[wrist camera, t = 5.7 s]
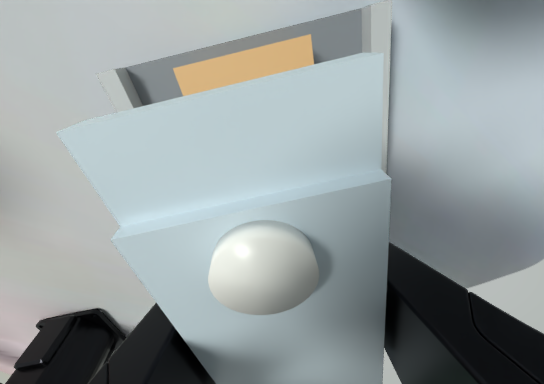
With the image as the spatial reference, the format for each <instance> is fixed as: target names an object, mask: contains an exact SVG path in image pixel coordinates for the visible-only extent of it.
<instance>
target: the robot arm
mask: <svg viewBox="0 0 544 384" xmlns="http://www.w3.org/2000/svg"><path fill="white" fill-rule="evenodd" d="M36 327H37V328H38V329H39V330H40V332H39V333H38V334H37V336H36V337H35V338H34V340H33V341H32V342H31V343H30V345H29V346H28V347H27V349H26V350H25V351H24V353H23V354H22V355H21V357H20V358H19V359H18V361H17V362H16V363H15V365H14V368H15V369H16V370H15V371H14V373H13V374H12V375H11V377H10V378H9V379H8V381H7V382H6V383H5V384H216V383H215V382H214V380H213V379H212V378H211V376H210V375H209V373H208V372H207V371H206V369H205V368H204V367H203V365H202V364H201V363H200V361H199V360H198V358H197V357H196V356H195V354H194V353H193V352H192V350H191V349H190V348H189V346H188V345H187V344H186V342H185V341H184V339H183V338H182V337H181V335H180V334H179V333H178V331H177V330H176V329H175V327H174V326H173V324H172V323H171V322H170V320H169V319H168V318H167V316H166V315H165V314H164V312H163V311H162V310H161V308H160V307H159V305H158V304H157V303H156V304H155V305H154V306H153V307H152V308H151V310H150V311H149V312H148V313H147V314H146V315H145V317H144V318H143V319H142V320H141V321H140V323H139V324H138V325H137V326H136V327H135V328H134V330H133V331H132V332H131V333H130V334H129V336H128V337H127V338H126V337H125V336H124V335H123V334H122V333H121V332H120V331H119V330H118V329H117V328H116V327H115V326H114V325H113V324H112V323H111V322H110V321H109V320H108V319H107V318H106V316H105V315H104V314H103V313H102V312H101V311H99V310H96V309H95V310H89V311H84V312H79V313H74V314H69V315H64V316H59V317H54V318H49V319H44V320H40V321H39V322H38V323H37V325H36ZM384 348H385V350H386V352H387V354H388V356H389V358H390V360H391V362H392V364H393V366H394V369H395V371H396V372H397V375H398V377H399V379H400V381H401V383H402V384H544V334H543V333H541V332H539V331H538V330H536V329H534V328H532V327H530V326H528V325H526V324H525V323H523V322H521V321H519V320H518V319H516V318H514V317H513V316H511V315H509V314H507V313H506V312H504V311H502V310H501V309H499V308H497V307H495V306H494V305H492V304H490V303H489V302H487V301H485V300H484V299H482V298H481V297H479V296H477V295H476V294H474V293H472V292H469V293H468V290H467V289H466V288H464V287H462V286H461V285H459V284H457V283H456V282H454V281H452V280H451V279H449V278H448V277H446V276H444V275H443V274H441V273H439V272H438V271H436V270H434V269H433V268H431V267H429V266H428V265H426V264H425V263H423V262H421V261H420V260H418V259H416V258H415V257H413V256H411V255H410V254H408V253H407V252H405V251H403V250H402V249H400V248H398V247H397V246H395V245H393V244H392V243H390V242H389V247H388V269H387V292H386V314H385V336H384ZM114 350H116V351H115V352H114V353H113V351H114ZM112 353H113V355H112ZM111 355H112V356H111ZM0 384H2V383H0Z"/></svg>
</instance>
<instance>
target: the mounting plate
mask: <svg viewBox="0 0 544 384" xmlns="http://www.w3.org/2000/svg"><path fill="white" fill-rule="evenodd" d="M391 20H392V0H387V1H383V2H379V3H375V4H371V5H369V6H366V7H364V8H361V9H357V10H353V11H349V12H345V13H341V14H337V15H333V16H329V17H325V18H321V19H317V20H313V21H309V22H305V23H301V24H297V25H293V26H289V27H285V28H281V29H277V30H273V31H269V32H265V33H261V34H257V35H253V36H249V37H245V38H241V39H237V40H233V41H229V42H225V43H221V44H217V45H213V46H209V47H206V48H202V49H198V50H194V51H190V52H186V53H182V54H178V55H174V56H170V57H166V58H162V59H158V60H154V61H150V62H146V63H142V64H138V65H134V66H130V67H126V68H119V69H113V70H109V71H105V72H101V73H97V74H96V75H97V77H98V79H99V81H100V83H101V85H102V87H103V89H104V90H105V92H106V94H107V96H108V98H109V100H110V102H111V104H112V106H113V107H114V109H115V111H116V113H117V112H121V111H125V110H129V109H133V108H137V107H141V106H146V105H150V104H154V103H158V102H162V101H166V100H170V99H174V98H178V97H183V96H187V95H191V94H195V93H199V92H203V91H207V90H211V89H215V88H220V87H224V86H228V85H232V84H236V83H240V82H244V81H248V80H252V79H256V78H261V77H265V76H269V75H273V74H277V73H281V72H285V71H289V70H293V69H298V68H302V67H306V66H310V65H314V64H318V63H322V62H326V61H330V60H335V59H339V58H343V57H347V56H351V55H355V54H359V53H384V62H383V112H382V162H381V170H383V171H384V172H385V173H386V169H387V139H388V109H389V79H390V50H391Z"/></svg>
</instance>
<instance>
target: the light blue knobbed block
mask: <svg viewBox="0 0 544 384" xmlns="http://www.w3.org/2000/svg"><path fill="white" fill-rule="evenodd" d="M383 62H384V53H359V54H355V55H351V56H347V57H343V58H339V59H335V60H330V61H326V62H322V63H318V64H314V65H310V66H306V67H302V68H298V69H293V70H289V71H285V72H281V73H277V74H273V75H269V76H265V77H261V78H256V79H252V80H248V81H244V82H240V83H236V84H232V85H228V86H224V87H220V88H215V89H211V90H207V91H203V92H199V93H195V94H191V95H187V96H183V97H178V98H174V99H170V100H166V101H162V102H158V103H154V104H150V105H146V106H141V107H137V108H133V109H129V110H125V111H121V112H117V113H113V114H109V115H104V116H100V117H96V118H92V119H88V120H84V121H82V122H80V123H77V124H75V125H72V126H70V127H67V128H65V129H63V130H60V131H58V132H56V133H57V135H58V136H59V138H60V139H61V141H62V142H63V144H64V145H65V146H66V148H67V149H68V151H69V152H70V154H71V155H72V157H73V158H74V160H75V161H76V163H77V164H78V166H79V167H80V168H81V170H82V171H83V173H84V174H85V176H86V177H87V179H88V180H89V182H90V183H91V185H92V186H93V188H94V189H95V190H96V192H97V193H98V195H99V196H100V198H101V199H102V201H103V202H104V204H105V205H106V207H107V208H108V209H109V211H110V212H111V214H112V215H113V217H114V218H115V220H116V221H117V223H118V224H119V226H120V228H119V229H118V231H117V232H116V233H115V235H114V236H113V237H112V239H111V242H112V243H113V244H114V246H115V247H116V248H117V250H118V251H119V252H120V254H121V255H122V256H123V258H124V259H125V261H126V262H127V263H128V265H129V266H130V267H131V269H132V270H133V271H134V273H135V274H136V276H137V277H138V278H139V280H140V281H141V282H142V284H143V285H144V286H145V288H146V289H147V290H148V292H149V293H150V295H151V296H152V297H153V299H154V300H155V301H156V303H157V304H158V305H159V307H160V308H161V310H162V311H163V312H164V314H165V315H166V316H167V318H168V319H169V320H170V322H171V323H172V324H173V326H174V327H175V329H176V330H177V331H178V333H179V334H180V335H181V337H182V338H183V339H184V341H185V342H186V344H187V345H188V346H189V348H190V349H191V350H192V352H193V353H194V354H195V356H196V357H197V358H198V360H199V361H200V363H201V364H202V365H203V367H204V368H205V369H206V371H207V372H208V373H209V375H210V376H211V378H212V379H213V380H214V382H215V383H216V384H382V380H383V358H384V336H385V314H386V292H387V269H388V247H389V225H390V203H391V180H392V179H391V178H390V177H389V176H388V175H387V174H386V173H385V172H384V171H383V170H381V162H382V112H383Z"/></svg>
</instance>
